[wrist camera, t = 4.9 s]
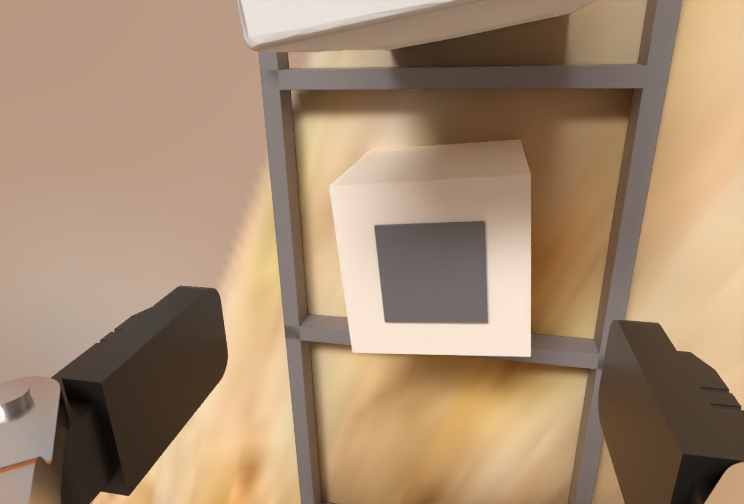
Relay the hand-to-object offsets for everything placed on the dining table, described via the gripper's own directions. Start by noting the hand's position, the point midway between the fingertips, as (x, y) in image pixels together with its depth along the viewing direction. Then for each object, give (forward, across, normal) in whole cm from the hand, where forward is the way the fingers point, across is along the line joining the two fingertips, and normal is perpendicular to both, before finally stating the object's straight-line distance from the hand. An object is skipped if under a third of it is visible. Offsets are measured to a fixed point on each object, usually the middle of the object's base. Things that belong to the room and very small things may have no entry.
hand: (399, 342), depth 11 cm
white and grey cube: (+8, 0, 0) cm, 8 cm away
